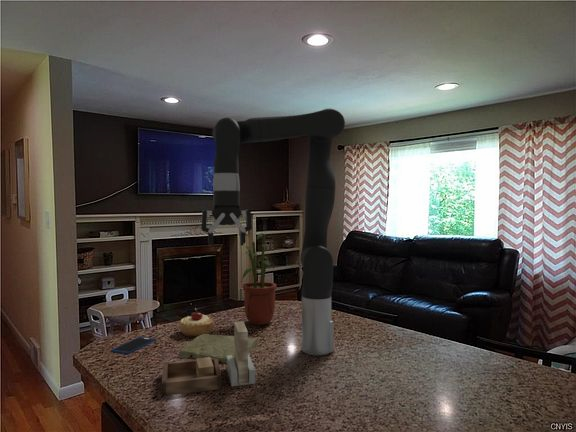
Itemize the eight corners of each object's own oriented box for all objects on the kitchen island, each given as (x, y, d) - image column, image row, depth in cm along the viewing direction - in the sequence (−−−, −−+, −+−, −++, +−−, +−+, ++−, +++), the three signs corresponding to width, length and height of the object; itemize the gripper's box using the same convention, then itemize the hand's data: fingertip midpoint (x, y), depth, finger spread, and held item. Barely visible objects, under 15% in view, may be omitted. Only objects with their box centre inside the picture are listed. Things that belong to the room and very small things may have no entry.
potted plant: (283, 322, 154) (283, 232, 153) (254, 332, 142) (254, 235, 141) (252, 314, 165) (252, 230, 164) (223, 322, 154) (222, 233, 153)
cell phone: (157, 340, 135) (157, 338, 135) (128, 355, 122) (128, 353, 122) (139, 338, 137) (139, 336, 137) (109, 352, 124) (109, 350, 124)
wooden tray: (217, 371, 109) (217, 357, 109) (221, 392, 97) (221, 376, 97) (164, 377, 105) (163, 362, 105) (161, 400, 93) (161, 383, 93)
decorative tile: (200, 342, 134) (200, 331, 134) (257, 346, 130) (257, 335, 130) (173, 364, 115) (173, 352, 115) (239, 369, 111) (239, 357, 111)
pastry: (184, 342, 134) (183, 316, 134) (176, 331, 144) (175, 307, 144) (218, 335, 140) (217, 310, 139) (208, 325, 150) (207, 302, 150)
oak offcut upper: (210, 365, 105) (210, 356, 105) (213, 375, 99) (213, 366, 99) (196, 367, 104) (196, 358, 104) (199, 377, 98) (199, 368, 98)
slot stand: (248, 369, 110) (248, 353, 110) (255, 387, 100) (255, 369, 100) (226, 371, 109) (226, 355, 109) (231, 390, 98) (231, 372, 98)
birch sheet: (243, 368, 109) (243, 321, 109) (248, 382, 100) (247, 331, 100) (234, 368, 108) (234, 321, 108) (238, 383, 100) (238, 332, 99)
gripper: (248, 190, 119) (249, 243, 120) (200, 190, 116) (201, 245, 116) (253, 189, 112) (253, 246, 112) (201, 189, 108) (202, 248, 109)
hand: (226, 245), depth 114 cm, fingers open, 8 cm apart
